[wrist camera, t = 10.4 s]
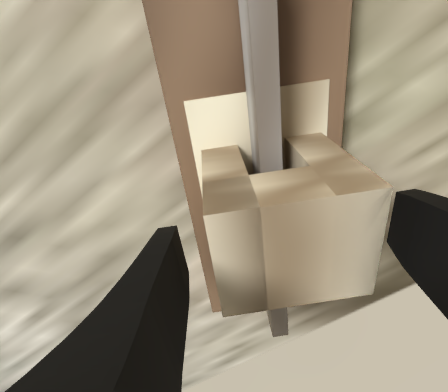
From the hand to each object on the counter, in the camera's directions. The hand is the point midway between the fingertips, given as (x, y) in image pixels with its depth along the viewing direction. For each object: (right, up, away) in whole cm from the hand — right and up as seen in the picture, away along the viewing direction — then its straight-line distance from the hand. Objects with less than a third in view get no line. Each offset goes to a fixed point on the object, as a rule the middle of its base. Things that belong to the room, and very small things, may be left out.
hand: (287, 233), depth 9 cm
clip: (0, +2, +3) cm, 4 cm away
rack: (0, +3, +5) cm, 5 cm away
